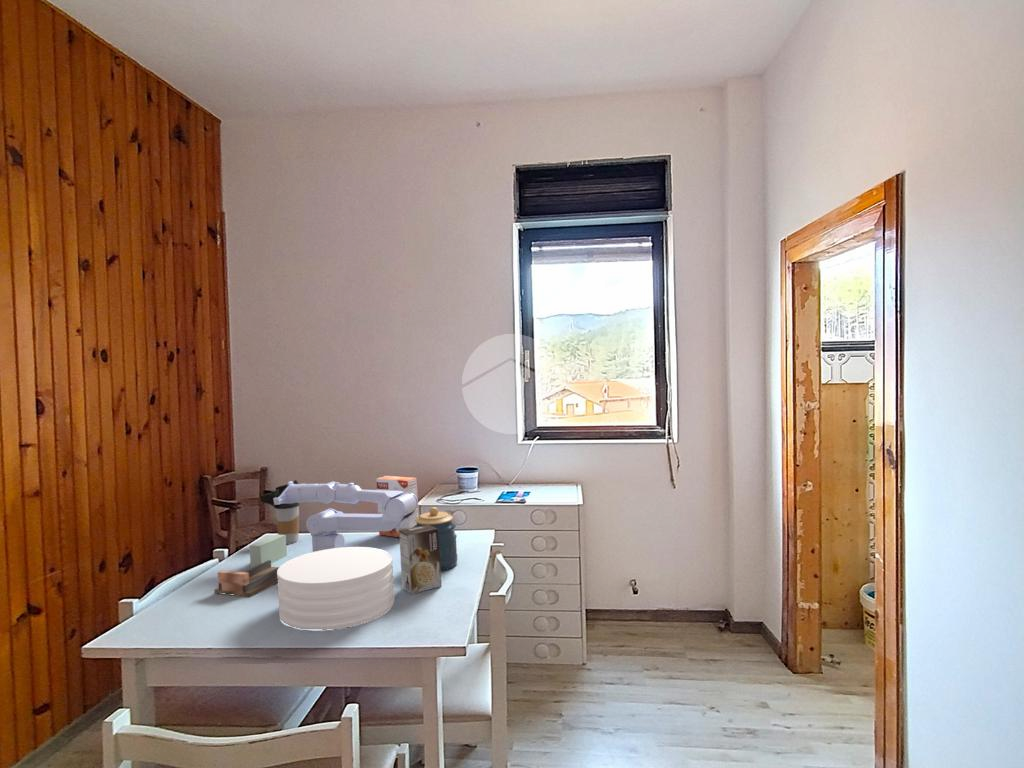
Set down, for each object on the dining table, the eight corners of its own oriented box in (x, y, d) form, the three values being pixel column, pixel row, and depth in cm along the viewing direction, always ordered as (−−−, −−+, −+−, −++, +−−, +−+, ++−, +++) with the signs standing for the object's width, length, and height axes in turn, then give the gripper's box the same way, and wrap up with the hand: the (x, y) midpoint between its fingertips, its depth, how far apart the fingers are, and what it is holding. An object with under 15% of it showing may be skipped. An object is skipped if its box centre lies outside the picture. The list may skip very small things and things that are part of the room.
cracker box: (378, 536, 222) (375, 478, 221) (389, 531, 227) (386, 475, 227) (409, 540, 216) (407, 480, 215) (420, 535, 221) (417, 476, 220)
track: (297, 572, 186) (296, 552, 186) (250, 596, 167) (249, 574, 167) (264, 569, 190) (263, 550, 190) (214, 593, 171) (213, 571, 171)
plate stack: (279, 598, 166) (277, 556, 165) (384, 581, 176) (382, 541, 175) (279, 641, 140) (276, 590, 139) (403, 618, 149) (401, 571, 149)
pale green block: (286, 556, 203) (285, 535, 203) (261, 568, 192) (260, 545, 191) (276, 555, 204) (275, 534, 204) (250, 567, 193) (249, 545, 193)
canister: (407, 571, 183) (404, 512, 182) (424, 557, 195) (421, 501, 195) (449, 573, 180) (446, 512, 179) (463, 559, 192) (461, 502, 192)
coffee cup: (296, 545, 215) (293, 502, 215) (272, 545, 215) (270, 502, 215) (304, 538, 223) (302, 496, 223) (281, 538, 224) (279, 497, 223)
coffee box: (431, 580, 174) (429, 523, 174) (442, 586, 169) (439, 528, 168) (401, 588, 169) (398, 529, 169) (411, 595, 164) (408, 534, 163)
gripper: (315, 474, 203) (280, 475, 207) (288, 488, 190) (251, 490, 194) (319, 494, 204) (284, 495, 208) (292, 510, 191) (255, 511, 195)
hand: (269, 494), depth 201 cm, fingers open, 7 cm apart
